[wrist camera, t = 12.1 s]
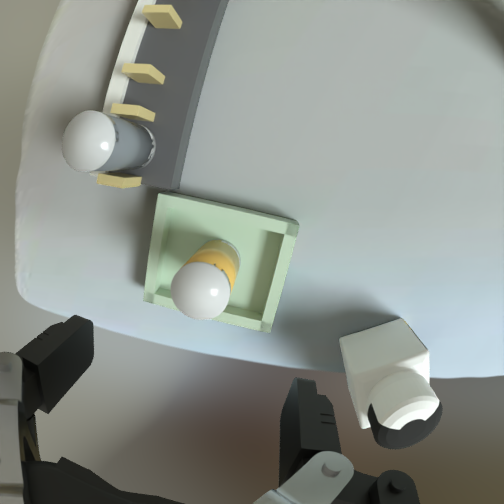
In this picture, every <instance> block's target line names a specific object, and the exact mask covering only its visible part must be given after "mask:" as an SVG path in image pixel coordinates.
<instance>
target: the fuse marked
mask: <svg viewBox="0 0 504 504" xmlns="http://www.w3.org/2000/svg"><path fill="white" fill-rule="evenodd" d="M240 265H241V257H240V254H239V252H238V250H237V248H236V247H235V246H234V245H233V244H232V243H230V242H229V241H227V240H224V239H212V240H209V241H207V242H206V243H204V244H203V245H202V246H201V247H200V248H199V249H198V250H197V251H196V252H195V254H194V255H193V256H192V257H191V258H190V259H189V260H188V261H187V262H186V263H185V264H184V265H183V266H182V267H181V268H180V269H179V271H178V272H177V273H176V274H175V275H174V277H173V279H172V282H171V288H170V291H171V297H172V300H173V302H174V304H175V305H176V307H177V308H178V309H179V310H180V311H181V312H182V313H183V314H185V315H186V316H188V317H190V318H193V319H197V320H208V319H212V318H214V317H216V316H218V315H219V314H221V313H222V312H223V311H224V309H225V308H226V306H227V304H228V301H229V298H230V295H231V292H232V289H233V286H234V283H235V280H236V277H237V274H238V272H239V269H240Z"/></svg>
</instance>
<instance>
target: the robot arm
mask: <svg viewBox="0 0 504 504" xmlns="http://www.w3.org/2000/svg"><path fill="white" fill-rule="evenodd" d="M93 357H94V337H93V322H92V321H91V320H88V319H85V318H83V317H80V316H77V315H74V316H72V317H71V318H70V319H68V320H67V321H66V322H65V323H63V322H60V323H57V324H54V325H52V326H50V327H49V328H47V329H46V330H45V331H43V333H41V334H40V335H38V336H37V338H34V339H33V340H32V341H31V342H29V343H28V344H27V345H26V346H24V347H23V348H22V349H21V350H20V351H18V352H17V353H16V354H14V353H11V352H0V504H184V503H180V502H176V501H173V500H169V499H165V498H162V497H159V496H153V495H145V494H138V493H130V492H125V491H121V490H118V489H116V488H115V487H113V486H112V485H110V484H109V483H107V482H106V481H104V480H103V479H102V478H100V477H99V476H98V475H96V474H95V473H93V472H92V471H91V470H89V469H86V468H84V467H82V466H80V465H78V464H76V463H74V462H72V461H70V460H68V459H66V458H64V457H61V458H60V460H59V461H58V463H53V462H47V461H41V458H40V453H39V445H38V437H37V428H36V417H35V411H36V410H37V409H40V410H42V411H43V412H45V413H47V414H49V413H50V411H51V410H52V409H53V408H54V407H55V405H56V404H57V403H58V402H59V401H60V399H61V398H62V397H63V396H64V395H65V394H66V393H67V391H68V390H69V389H70V388H71V387H72V386H73V385H74V383H75V382H76V381H77V380H78V379H79V378H80V377H81V376H82V374H83V373H84V372H85V371H86V370H87V369H88V367H89V366H90V365H91V363H92V360H93ZM279 454H280V455H279V488H278V489H277V490H274V489H272V490H270V491H269V492H267V493H266V494H264V495H263V496H262V497H261V498H259V499H258V500H257V501H255V502H254V503H253V504H420V502H419V498H418V494H417V490H416V486H415V483H414V481H413V480H412V479H411V477H410V476H408V475H407V474H406V473H404V472H401V471H398V470H388V471H385V472H383V473H382V474H381V475H380V476H379V477H374V476H370V475H367V474H363V473H360V472H357V471H355V470H354V469H353V465H352V464H351V462H350V461H349V460H348V459H347V458H346V457H345V456H343V455H342V453H341V447H340V442H339V437H338V431H337V427H336V421H335V417H334V411H333V405H332V404H331V402H330V401H329V399H328V398H327V397H326V395H319V394H317V389H316V383H315V381H314V380H308V379H302V378H297V377H296V378H294V380H293V382H292V385H291V388H290V390H289V393H288V396H287V398H286V401H285V403H284V406H283V409H282V413H281V418H280V453H279Z"/></svg>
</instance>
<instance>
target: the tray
mask: <svg viewBox="0 0 504 504" xmlns="http://www.w3.org/2000/svg"><path fill="white" fill-rule="evenodd" d="M298 230H299V224H298V222H297V221H295V220H291V219H287V218H283V217H279V216H275V215H270V214H266V213H262V212H258V211H254V210H249V209H245V208H241V207H236V206H232V205H228V204H223V203H219V202H214V201H210V200H205V199H201V198H196V197H191V196H187V195H182V194H177V193H173V192H163V193H158V199H157V204H156V210H155V216H154V222H153V229H152V235H151V242H150V249H149V256H148V264H147V271H146V280H145V289H144V298H143V301H146V302H149V303H153V304H156V305H160V306H163V307H167V308H170V309H174V310H178V311H180V310H179V309H178V308H177V307H176V305H175V304H174V302H173V300H172V297H171V291H170V288H171V282H172V279H173V277H174V275H175V274H176V273H177V272H178V271H179V269H180V268H181V267H182V266H183V265H184V264H185V263H186V262H187V261H188V260H189V259H190V258H191V257H192V256H193V255H194V254H195V252H196V251H197V250H198V249H199V248H200V247H201V246H202V245H203V244H204V243H206V242H207V241H209V240H212V239H224V240H227V241H229V242H230V243H232V244H233V245H234V246H235V247H236V248H237V250H238V252H239V254H240V257H241V265H240V269H239V272H238V274H237V277H236V280H235V283H234V286H233V289H232V292H231V295H230V298H229V301H228V304H227V306H226V308H225V309H224V311H223V312H222V313H221V314H219V315H218V316H216V317H214V318H212V320H216V321H220V322H224V323H228V324H232V325H236V326H240V327H245V328H249V329H253V330H258V331H262V332H267V333H270V331H271V327H272V324H273V321H274V317H275V314H276V310H277V307H278V303H279V300H280V296H281V292H282V289H283V285H284V282H285V278H286V274H287V271H288V267H289V263H290V260H291V256H292V252H293V249H294V245H295V241H296V237H297V233H298Z"/></svg>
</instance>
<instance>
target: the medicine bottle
mask: <svg viewBox="0 0 504 504" xmlns="http://www.w3.org/2000/svg"><path fill="white" fill-rule="evenodd" d="M339 343H340V348H341V353H342V357H343V362H344V367H345V372H346V377H347V382H348V388H349V391H350V394H351V397H352V400H353V404H354V407H355V410H356V414H357V417H358V420H359V424H360V427H361V428H362V429H365V428H368V427H371V429H372V432H373V435H374V439H375V441H376V442H377V444H379V445H380V446H382V447H384V448H388V449H402V448H406V447H410V446H412V445H414V444H416V443H418V442H420V441H421V440H423V439H424V438H426V437H427V436H428V435H429V434H430V433H431V432H432V431H433V430H434V429H435V428H436V426H437V425H438V423H439V421H440V418H441V415H442V405H441V402H440V401H439V399H438V397H437V396H436V394H435V393H434V391H433V390H432V388H431V386H430V385H429V351H428V349H427V348H426V347H425V346H424V344H423V343H422V342H421V341H420V339H419V338H418V337H417V335H416V334H415V333H414V332H413V330H412V329H411V328H410V327H409V325H408V324H407V323H406V322H405V321H404V319H402V318H400V319H397V320H394V321H391V322H388V323H385V324H382V325H379V326H376V327H373V328H370V329H366V330H363V331H360V332H357V333H353V334H350V335H347V336H343V337H341V338H340V339H339Z"/></svg>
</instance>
